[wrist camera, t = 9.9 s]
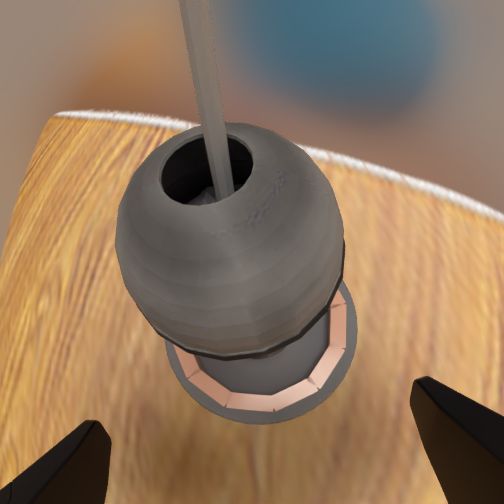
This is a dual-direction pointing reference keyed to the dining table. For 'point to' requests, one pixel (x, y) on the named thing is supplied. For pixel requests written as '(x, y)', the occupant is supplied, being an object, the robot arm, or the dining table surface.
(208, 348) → the beverage cup
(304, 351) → the cup holder
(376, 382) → the dining table surface
